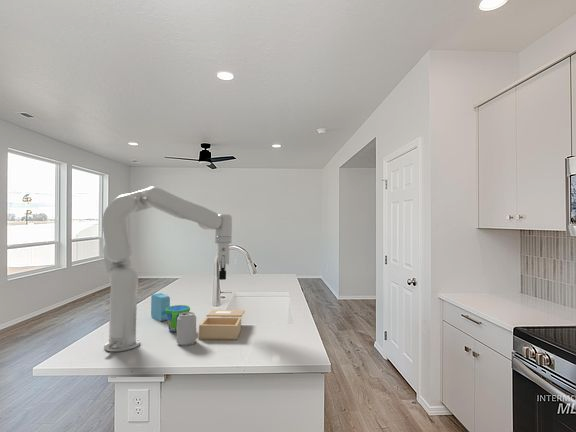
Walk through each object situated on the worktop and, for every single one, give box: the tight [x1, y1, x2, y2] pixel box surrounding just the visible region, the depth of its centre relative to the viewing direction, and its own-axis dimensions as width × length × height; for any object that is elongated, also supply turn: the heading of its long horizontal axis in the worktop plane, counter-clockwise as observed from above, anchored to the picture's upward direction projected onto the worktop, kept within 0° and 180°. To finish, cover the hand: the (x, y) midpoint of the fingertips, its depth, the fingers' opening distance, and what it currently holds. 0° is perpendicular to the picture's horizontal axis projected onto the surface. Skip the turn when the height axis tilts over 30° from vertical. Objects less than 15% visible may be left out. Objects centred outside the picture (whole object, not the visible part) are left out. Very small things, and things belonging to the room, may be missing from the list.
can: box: [176, 311, 197, 347], centre depth 133 cm, size 8×8×12 cm
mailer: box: [198, 316, 242, 341], centre depth 143 cm, size 12×16×6 cm
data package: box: [150, 292, 171, 322], centre depth 167 cm, size 12×4×12 cm, turn 46°
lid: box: [206, 309, 246, 318], centre depth 156 cm, size 12×16×1 cm
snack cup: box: [166, 304, 191, 333], centre depth 149 cm, size 16×10×10 cm
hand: (222, 279), depth 154 cm, fingers closed
